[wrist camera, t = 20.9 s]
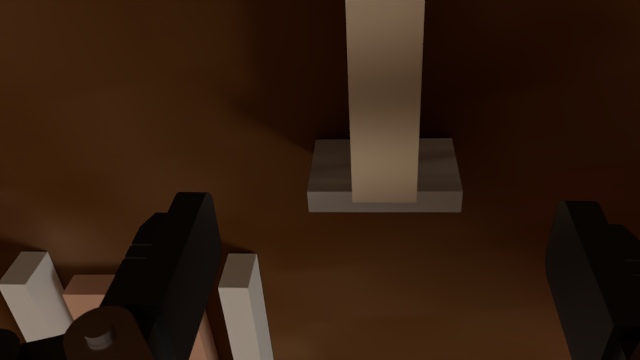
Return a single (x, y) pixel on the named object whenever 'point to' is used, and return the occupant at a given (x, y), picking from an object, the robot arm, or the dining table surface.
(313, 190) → the beige rectangular block
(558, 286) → the robot arm
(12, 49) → the dining table surface
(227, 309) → the bay
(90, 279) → the tile
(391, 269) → the dining table surface
